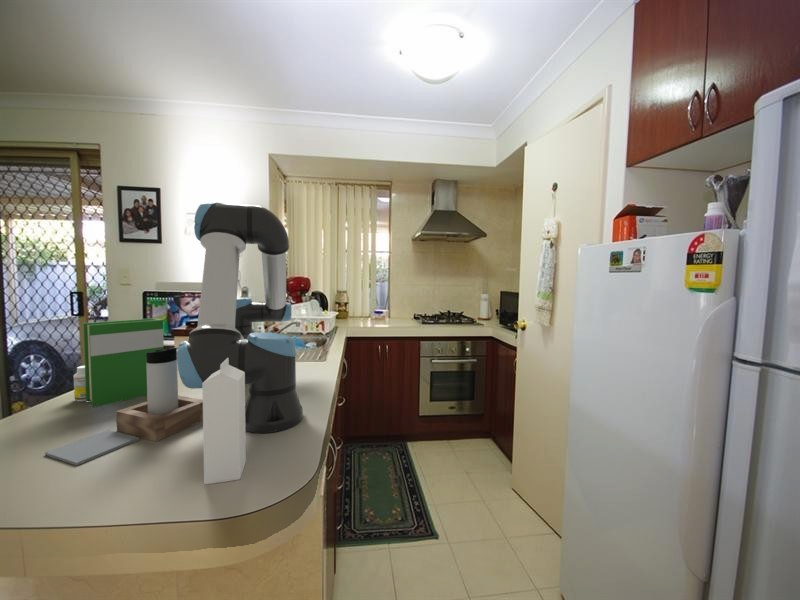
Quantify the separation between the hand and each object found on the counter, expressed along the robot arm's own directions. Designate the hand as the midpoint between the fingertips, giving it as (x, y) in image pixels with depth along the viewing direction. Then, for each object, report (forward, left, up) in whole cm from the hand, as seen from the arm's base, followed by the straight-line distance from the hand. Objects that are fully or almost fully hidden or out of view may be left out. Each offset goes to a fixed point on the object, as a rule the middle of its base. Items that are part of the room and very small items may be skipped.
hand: (188, 358), depth 90 cm
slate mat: (-1, +23, -15) cm, 27 cm away
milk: (-36, +20, -15) cm, 43 cm away
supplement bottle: (+36, +6, -15) cm, 40 cm away
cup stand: (-4, +10, -15) cm, 18 cm away
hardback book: (+28, 0, -15) cm, 32 cm away
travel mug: (-4, +10, -15) cm, 18 cm away
